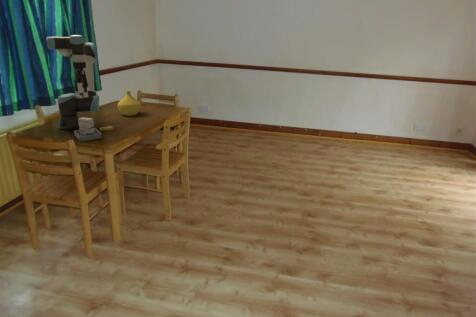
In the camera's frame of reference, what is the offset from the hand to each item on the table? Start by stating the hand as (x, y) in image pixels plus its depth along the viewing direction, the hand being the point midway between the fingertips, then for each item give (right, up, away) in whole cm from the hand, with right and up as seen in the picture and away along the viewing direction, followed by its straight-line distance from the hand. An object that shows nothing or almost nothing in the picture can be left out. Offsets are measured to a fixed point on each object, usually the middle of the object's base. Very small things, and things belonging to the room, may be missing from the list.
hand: (83, 95), depth 238 cm
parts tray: (+1, -26, +6) cm, 27 cm away
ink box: (0, -26, +6) cm, 27 cm away
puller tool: (+7, -20, +23) cm, 31 cm away
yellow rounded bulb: (+11, -5, +64) cm, 66 cm away
